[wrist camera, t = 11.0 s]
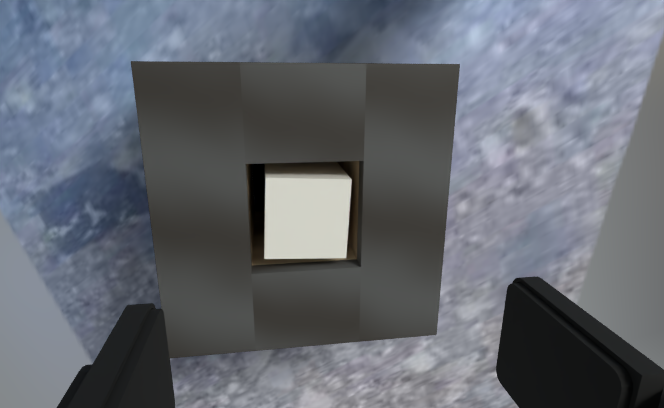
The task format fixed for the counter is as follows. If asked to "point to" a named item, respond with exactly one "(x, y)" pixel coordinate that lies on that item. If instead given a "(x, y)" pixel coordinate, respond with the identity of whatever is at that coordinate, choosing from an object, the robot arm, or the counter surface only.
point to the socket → (248, 225)
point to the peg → (306, 210)
